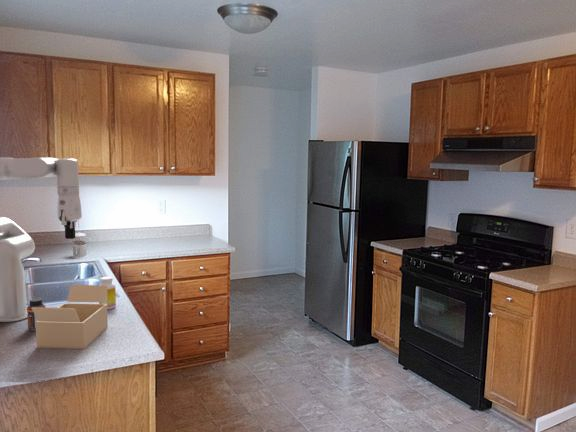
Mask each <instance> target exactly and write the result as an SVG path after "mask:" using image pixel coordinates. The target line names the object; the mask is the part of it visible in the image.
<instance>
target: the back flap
mask: <svg viewBox="0 0 576 432" xmlns="http://www.w3.org/2000/svg"><path fill="white" fill-rule="evenodd" d="M106 291H107V286H104V285H100V284H97V285H96V284H95V285H94V284H93V285H92V284H89V285H88V284H70V288H69V293H68V296H67V301H66V302H68V303H99V302H102V303H104V301H105V296H106Z"/></svg>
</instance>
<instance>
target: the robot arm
mask: <svg viewBox="0 0 576 432" xmlns="http://www.w3.org/2000/svg"><path fill="white" fill-rule="evenodd" d="M45 178H47V179H48V178H56V187H57V190H56V191H57V196H58V198H57V216H58V218H57V219H58V221H60V222H61V223H60V224H61V225H63V228H64V235H65V238H64V239H67V240H70V239H71V240H75V238H76V237H75V233H76V224H77V223H78V219H79V220H81V219H82V204H81V198H80V197H81V196H80V187H79V186H80V182H79V181H80V180H79V178H80V177H79V161H78V160H77V159H75V158H56V157H28V158H26V157H23V158H20V157H19V158H16V157H15V158H13V157H9V156H8V157H6V156H5V157H0V181H8V180H9V181H11V180H12V181H14V180H17V179H18V180H19V179H21V180H22V179H24V180H26V179H29V180H30V179H45ZM35 245H36V244H35V241H34V239H33V238H32V237H31V236H30V235H29V234H28V233H27V232H26V231H25V230H24V229H22V228H21V227H20V226H19V225H18V224H17V223H16V222H14V221H13V220H11V219H10V218H8V217H6V216H0V323H2V322H3V323H10V322H12V323H13V322H17V321H21V320H25V319H28V317H27V307H28V304H27V291H26V287H27V286H26V276H25V275H26V273H25V268H24V265H23V263H22V259H25V258H28V257H29V256H31V255H32V254H33V253H34V251H35V249H36V246H35Z"/></svg>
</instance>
